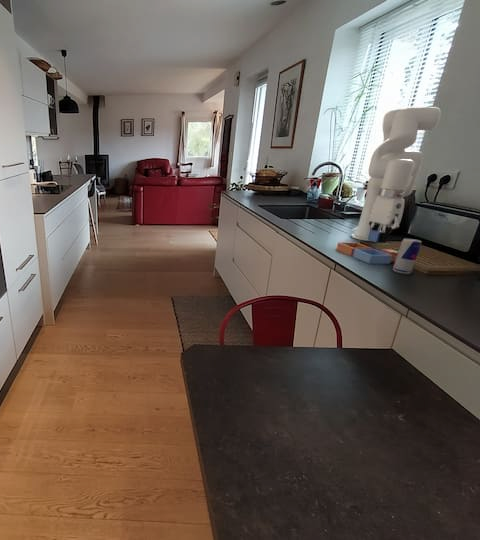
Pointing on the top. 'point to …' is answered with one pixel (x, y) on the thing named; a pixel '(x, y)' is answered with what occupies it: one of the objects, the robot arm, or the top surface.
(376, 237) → the blue block
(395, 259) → the terracotta block
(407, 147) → the robot arm
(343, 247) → the terracotta bin
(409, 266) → the energy drink
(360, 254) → the blue bin
